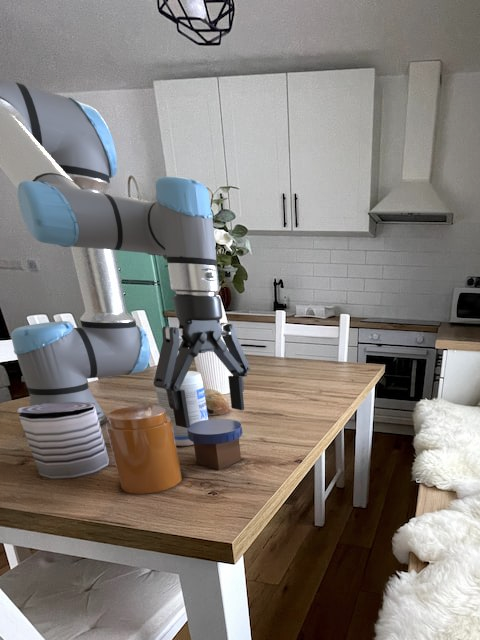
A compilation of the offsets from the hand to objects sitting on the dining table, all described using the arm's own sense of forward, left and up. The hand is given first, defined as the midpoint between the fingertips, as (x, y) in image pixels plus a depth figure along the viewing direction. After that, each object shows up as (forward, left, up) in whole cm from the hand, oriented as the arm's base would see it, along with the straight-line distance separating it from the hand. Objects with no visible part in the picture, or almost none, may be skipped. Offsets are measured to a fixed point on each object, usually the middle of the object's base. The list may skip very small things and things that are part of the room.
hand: (212, 417), depth 75 cm
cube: (0, 0, -9) cm, 9 cm away
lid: (0, 0, -2) cm, 2 cm away
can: (-18, -19, -9) cm, 28 cm away
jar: (-1, -13, -9) cm, 16 cm away
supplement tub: (-16, +3, -9) cm, 18 cm away
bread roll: (-33, +20, -9) cm, 39 cm away
